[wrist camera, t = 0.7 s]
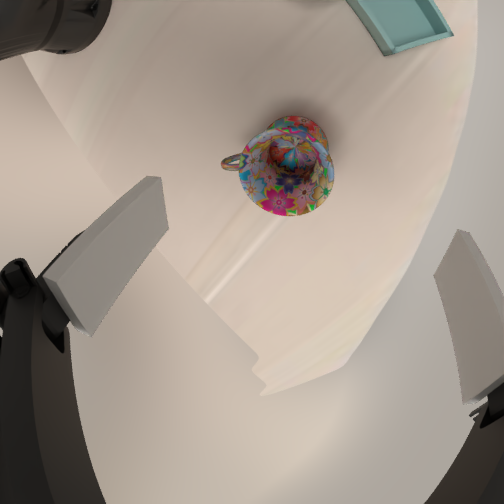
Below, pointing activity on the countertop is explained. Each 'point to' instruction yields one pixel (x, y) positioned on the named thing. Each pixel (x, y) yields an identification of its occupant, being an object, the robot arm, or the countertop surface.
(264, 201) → the mug
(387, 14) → the tray
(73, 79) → the countertop surface
